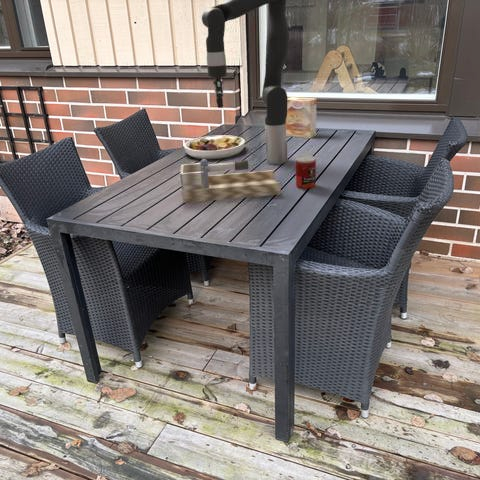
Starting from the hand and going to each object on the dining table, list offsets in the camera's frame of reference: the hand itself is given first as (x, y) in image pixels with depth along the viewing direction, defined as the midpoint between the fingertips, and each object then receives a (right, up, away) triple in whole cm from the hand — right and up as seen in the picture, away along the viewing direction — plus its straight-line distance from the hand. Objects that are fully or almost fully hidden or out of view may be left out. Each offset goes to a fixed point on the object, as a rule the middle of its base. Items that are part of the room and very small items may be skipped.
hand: (219, 105), depth 196 cm
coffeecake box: (+41, +1, +60) cm, 73 cm away
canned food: (+34, -34, -10) cm, 49 cm away
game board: (+5, -36, -11) cm, 38 cm away
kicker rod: (+3, -34, -12) cm, 37 cm away
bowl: (-4, -12, +42) cm, 44 cm away
